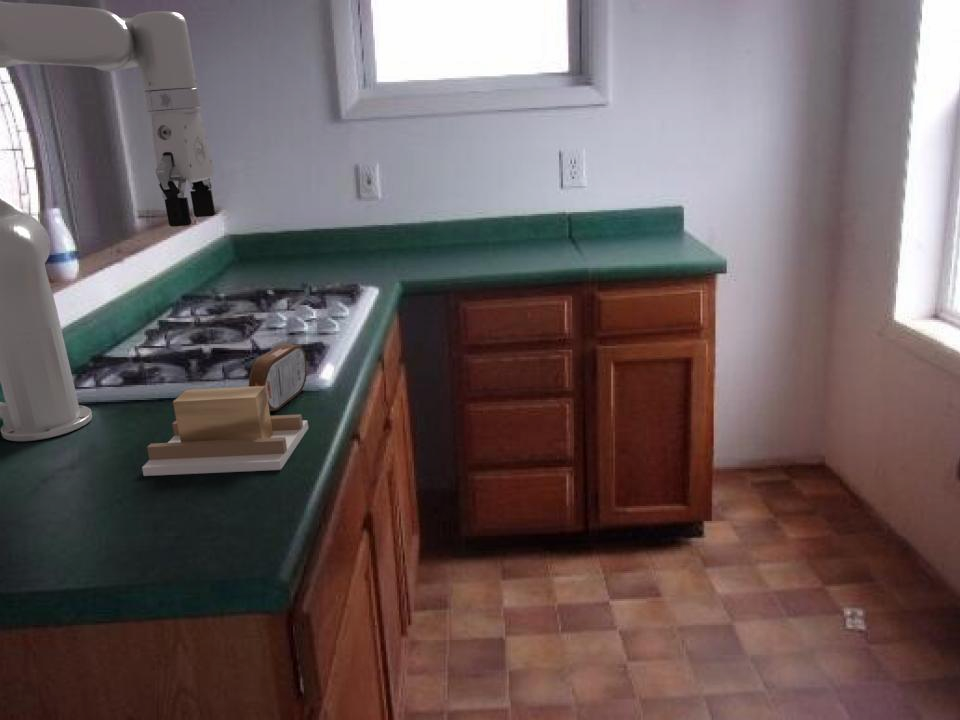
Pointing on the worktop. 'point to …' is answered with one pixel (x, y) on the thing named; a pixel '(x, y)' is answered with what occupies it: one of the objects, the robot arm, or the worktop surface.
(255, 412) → the oak block
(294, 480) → the worktop surface
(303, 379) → the tin
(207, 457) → the cradle
